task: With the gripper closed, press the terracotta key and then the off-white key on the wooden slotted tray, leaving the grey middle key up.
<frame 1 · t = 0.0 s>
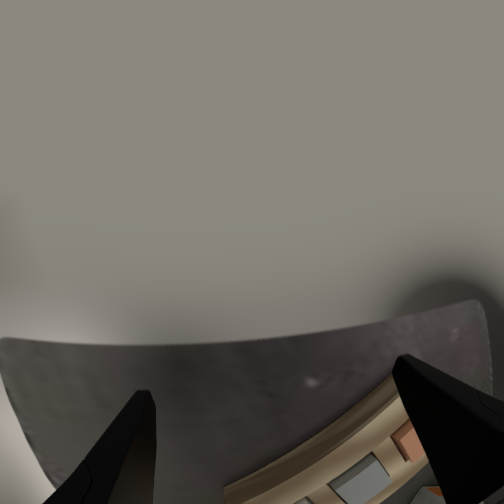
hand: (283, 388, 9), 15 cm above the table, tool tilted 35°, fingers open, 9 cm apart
wooden slotted tray: (344, 463, 22), on the table
skincare box: (424, 495, 22), on the table
terracotta key: (417, 432, 19), point 4 cm above the table, slide at 0.0 cm
grey key: (360, 481, 18), point 4 cm above the table, slide at 0.0 cm
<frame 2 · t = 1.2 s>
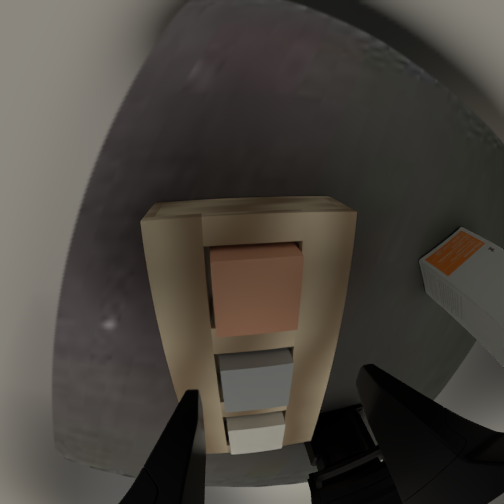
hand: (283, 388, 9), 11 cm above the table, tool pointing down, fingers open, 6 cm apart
wooden slotted tray: (246, 340, 22), on the table
offwhite key: (254, 430, 20), point 4 cm above the table, slide at 0.0 cm
skincare box: (441, 258, 22), on the table
terracotta key: (254, 288, 15), point 4 cm above the table, slide at 0.0 cm
grey key: (254, 378, 18), point 4 cm above the table, slide at 0.0 cm
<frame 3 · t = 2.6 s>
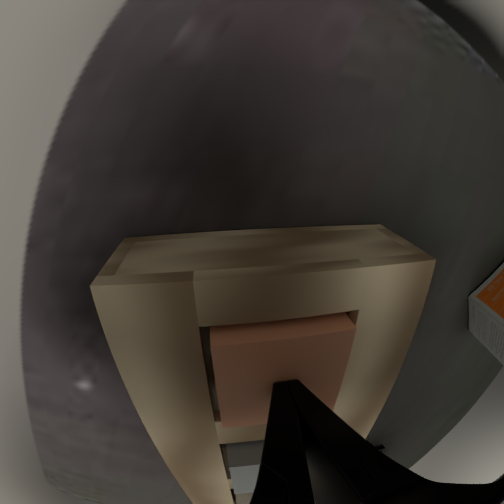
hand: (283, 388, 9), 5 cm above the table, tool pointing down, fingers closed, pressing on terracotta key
wooden slotted tray: (259, 404, 16), on the table
offwhite key: (267, 495, 14), point 4 cm above the table, slide at 0.0 cm
skincare box: (488, 290, 16), on the table
terracotta key: (276, 365, 10), point 3 cm above the table, slide at 0.7 cm, touching gripper
grey key: (272, 460, 12), point 4 cm above the table, slide at 0.0 cm
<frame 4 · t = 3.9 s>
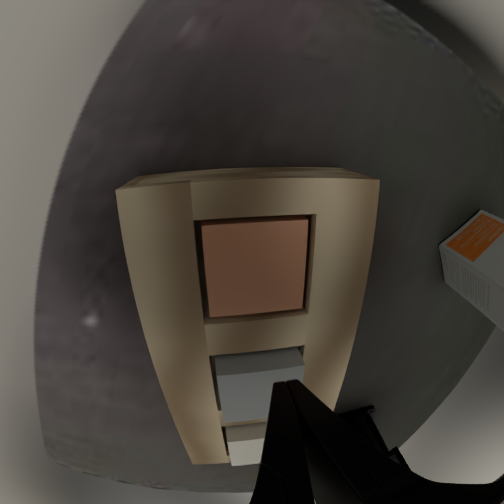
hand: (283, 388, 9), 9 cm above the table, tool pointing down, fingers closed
wooden slotted tray: (248, 338, 19), on the table
offwhite key: (258, 440, 18), point 4 cm above the table, slide at 0.0 cm
skincare box: (461, 244, 19), on the table
terracotta key: (252, 260, 13), point 3 cm above the table, slide at 1.4 cm
grey key: (258, 383, 15), point 4 cm above the table, slide at 0.0 cm
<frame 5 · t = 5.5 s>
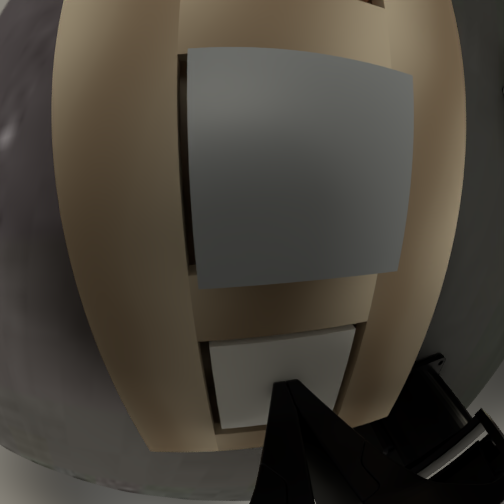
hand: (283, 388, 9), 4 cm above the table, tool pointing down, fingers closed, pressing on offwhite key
wooden slotted tray: (263, 153, 10), on the table
offwhite key: (275, 366, 10), point 3 cm above the table, slide at 1.3 cm, touching gripper
grey key: (298, 163, 6), point 4 cm above the table, slide at 0.0 cm
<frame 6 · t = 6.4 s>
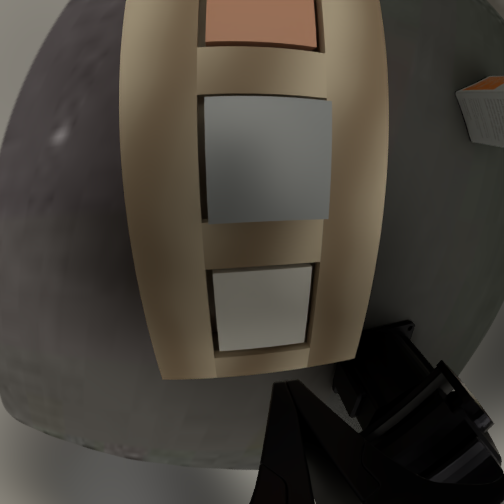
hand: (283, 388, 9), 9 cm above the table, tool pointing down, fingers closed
wooden slotted tray: (250, 152, 14), on the table
offwhite key: (259, 300, 14), point 3 cm above the table, slide at 1.4 cm
skincare box: (478, 106, 14), on the table
terracotta key: (257, 9, 9), point 3 cm above the table, slide at 1.4 cm
grey key: (265, 157, 10), point 4 cm above the table, slide at 0.0 cm
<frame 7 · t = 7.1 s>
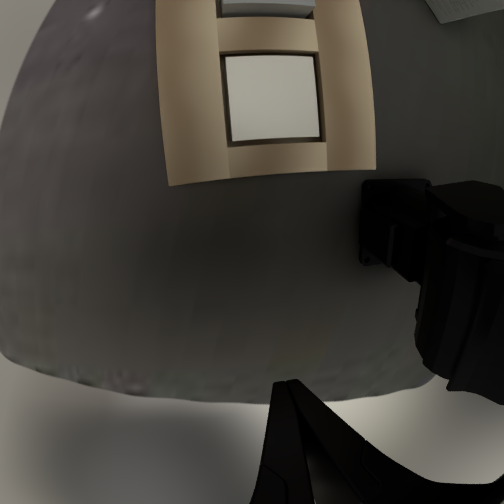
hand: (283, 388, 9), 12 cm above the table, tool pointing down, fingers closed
wooden slotted tray: (252, 9, 13), on the table
offwhite key: (269, 98, 13), point 3 cm above the table, slide at 1.4 cm
skincare box: (441, 2, 13), on the table
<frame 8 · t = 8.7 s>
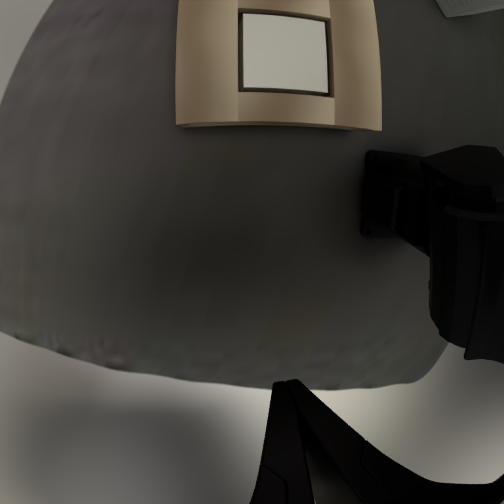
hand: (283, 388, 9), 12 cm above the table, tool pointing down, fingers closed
offwhite key: (281, 56, 13), point 3 cm above the table, slide at 1.4 cm
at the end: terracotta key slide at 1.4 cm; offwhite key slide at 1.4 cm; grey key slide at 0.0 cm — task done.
